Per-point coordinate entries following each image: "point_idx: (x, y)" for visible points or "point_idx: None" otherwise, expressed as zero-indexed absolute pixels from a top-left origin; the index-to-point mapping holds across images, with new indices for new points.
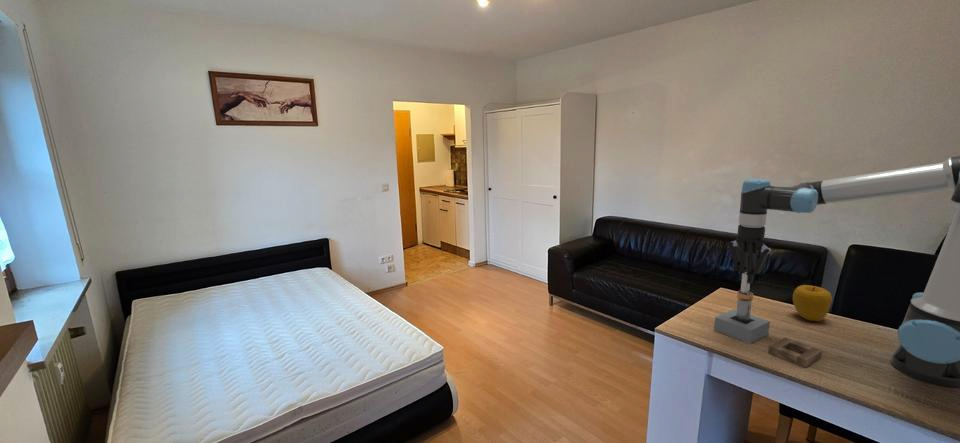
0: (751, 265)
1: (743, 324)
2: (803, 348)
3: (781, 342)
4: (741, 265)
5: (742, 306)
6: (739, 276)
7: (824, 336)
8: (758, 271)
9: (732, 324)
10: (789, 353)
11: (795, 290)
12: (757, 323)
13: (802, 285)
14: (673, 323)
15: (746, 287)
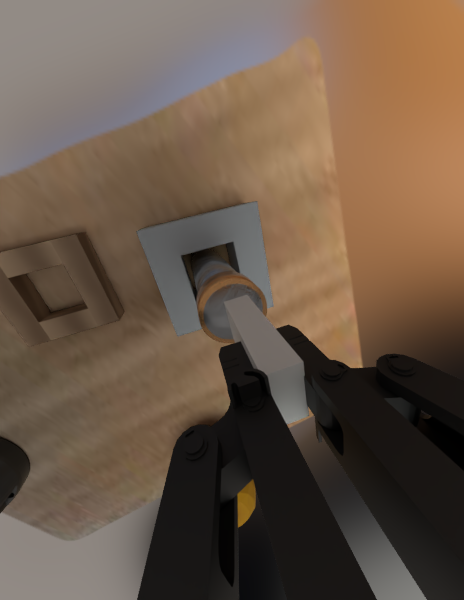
0: (279, 542)
1: (182, 245)
2: (54, 317)
3: (91, 287)
4: (391, 432)
5: (210, 270)
6: (309, 341)
7: (138, 411)
8: (170, 492)
9: (198, 215)
10: (16, 250)
11: (246, 485)
12: (175, 292)
13: (248, 512)
14: (322, 111)
15: (231, 322)
